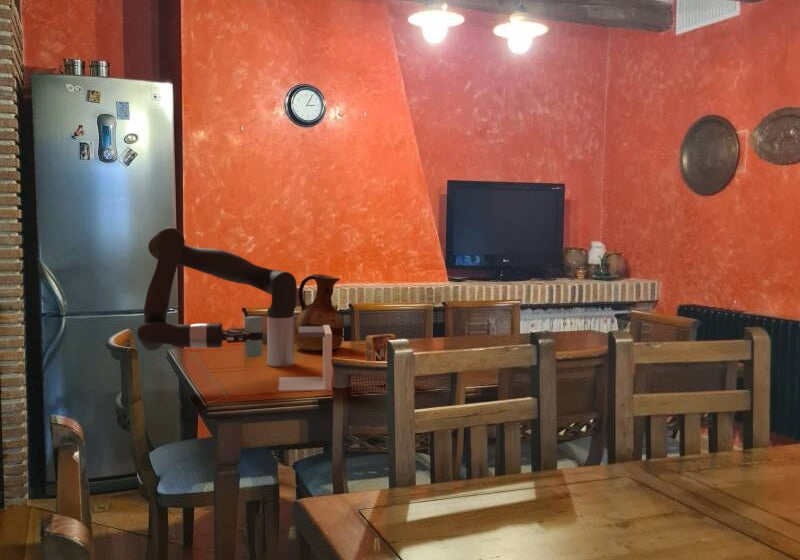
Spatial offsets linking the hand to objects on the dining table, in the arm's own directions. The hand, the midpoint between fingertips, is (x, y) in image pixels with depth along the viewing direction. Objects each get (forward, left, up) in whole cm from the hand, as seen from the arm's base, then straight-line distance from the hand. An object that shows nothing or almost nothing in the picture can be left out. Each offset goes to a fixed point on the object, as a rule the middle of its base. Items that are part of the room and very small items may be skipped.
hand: (262, 334), depth 237 cm
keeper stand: (0, +13, -16) cm, 21 cm away
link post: (0, -3, -7) cm, 7 cm away
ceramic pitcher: (-61, +19, -16) cm, 66 cm away
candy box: (-2, +37, -16) cm, 41 cm away
